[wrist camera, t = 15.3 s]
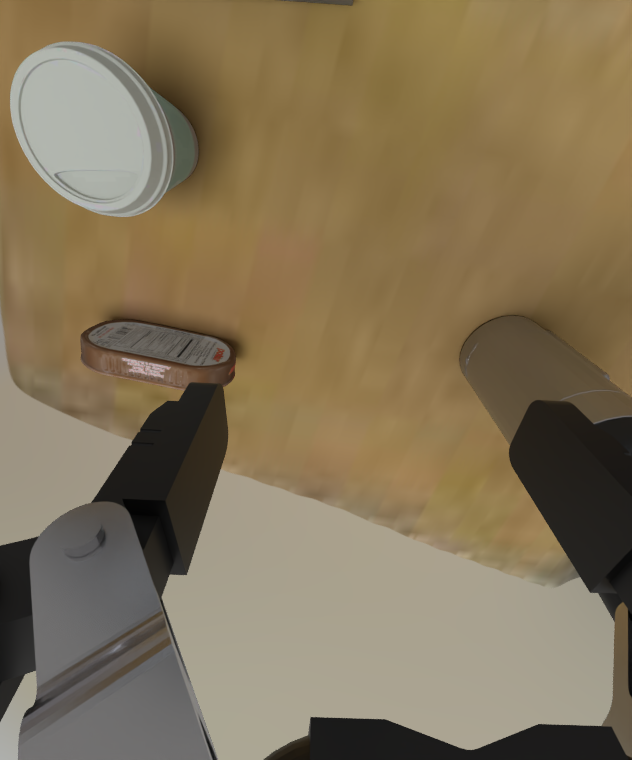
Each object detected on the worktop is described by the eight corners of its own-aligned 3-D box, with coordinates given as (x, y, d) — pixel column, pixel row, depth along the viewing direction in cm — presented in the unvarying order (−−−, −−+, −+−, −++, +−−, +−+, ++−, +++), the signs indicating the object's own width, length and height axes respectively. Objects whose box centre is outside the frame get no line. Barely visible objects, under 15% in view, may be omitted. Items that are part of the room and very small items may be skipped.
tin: (108, 333, 39) (61, 372, 32) (105, 307, 37) (55, 343, 30) (241, 360, 41) (224, 403, 34) (244, 337, 39) (227, 376, 32)
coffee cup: (100, 162, 30) (-11, 165, 20) (128, 49, 26) (8, -18, 16) (193, 220, 32) (136, 248, 22) (231, 125, 29) (183, 107, 18)
